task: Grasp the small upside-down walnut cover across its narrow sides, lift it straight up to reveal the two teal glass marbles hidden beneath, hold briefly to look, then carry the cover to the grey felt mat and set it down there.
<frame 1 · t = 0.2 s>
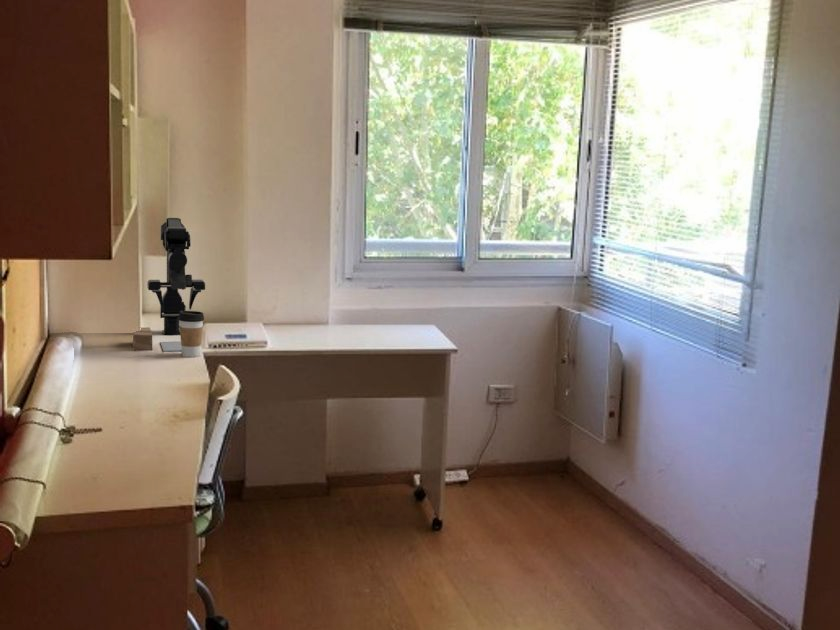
hand: (176, 309, 310), 14 cm above the table, fingers open, 9 cm apart
felt mat: (175, 346, 317), on the table
coffee cup: (191, 355, 307), on the table
walnut cover: (142, 346, 315), on the table
marble a: (141, 345, 317), on the table
marble b: (142, 348, 313), on the table
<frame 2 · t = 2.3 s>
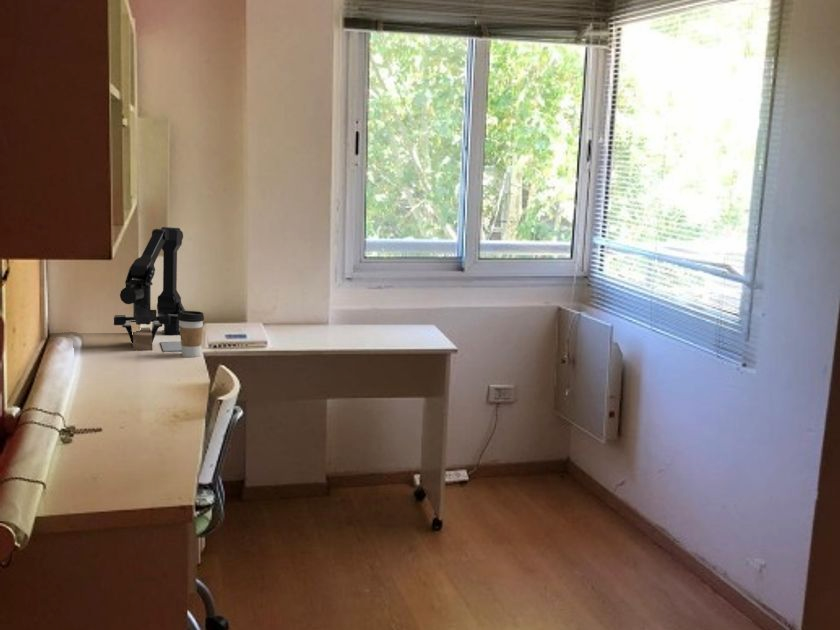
hand: (142, 343, 315), 1 cm above the table, fingers closed on walnut cover, 6 cm apart
walnut cover: (142, 346, 315), on the table, touching gripper
everything else where it was.
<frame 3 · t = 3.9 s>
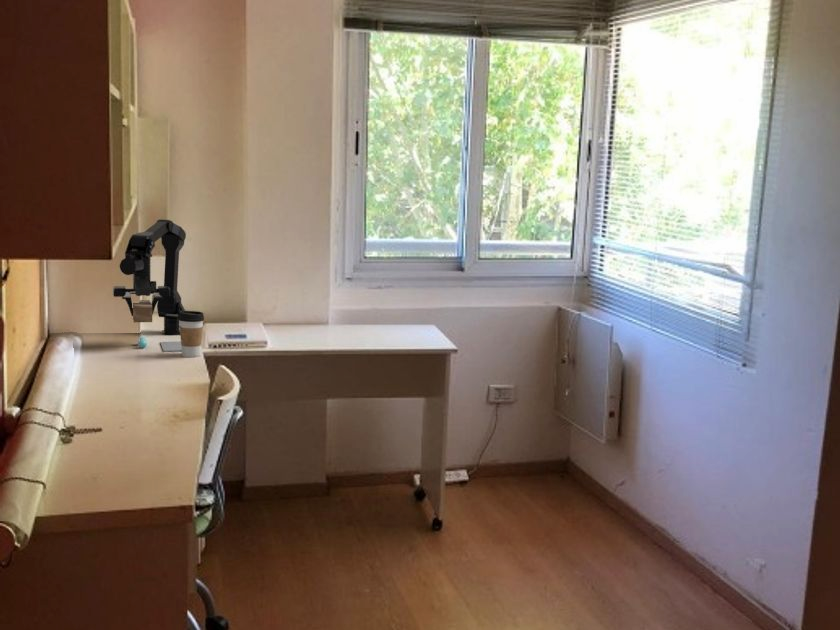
hand: (141, 315, 313), 11 cm above the table, fingers closed on walnut cover, 6 cm apart
walnut cover: (141, 318, 313), point 10 cm above the table, touching gripper
everything else where it was.
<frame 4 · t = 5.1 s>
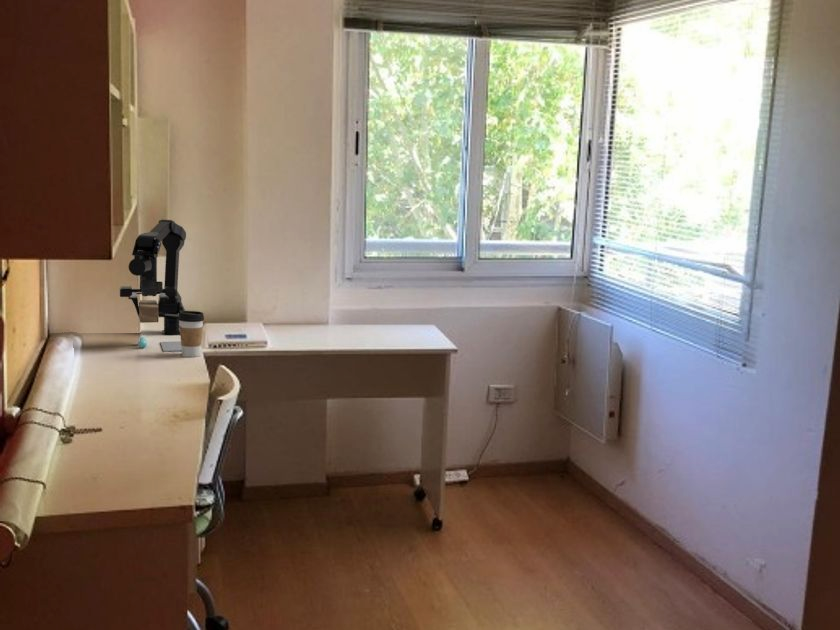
hand: (148, 316, 314), 11 cm above the table, fingers closed on walnut cover, 6 cm apart
walnut cover: (148, 319, 314), point 10 cm above the table, touching gripper
everything else where it was.
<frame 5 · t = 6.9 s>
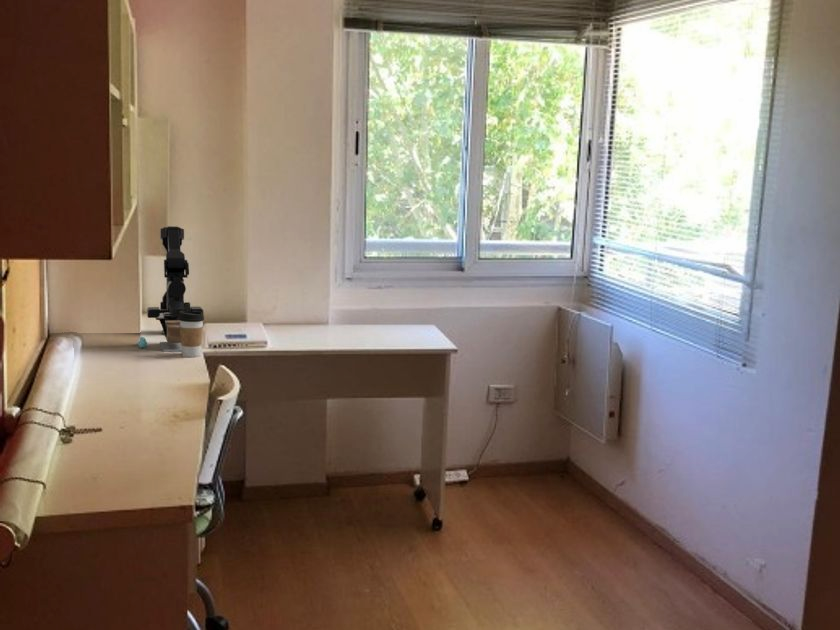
hand: (175, 336, 317), 4 cm above the table, fingers closed on walnut cover, 6 cm apart
walnut cover: (175, 339, 317), point 3 cm above the table, touching gripper
everything else where it was.
when the fingers open (2 cm above the table, at t = 8.1 s): walnut cover stays where it is, resting on felt mat.
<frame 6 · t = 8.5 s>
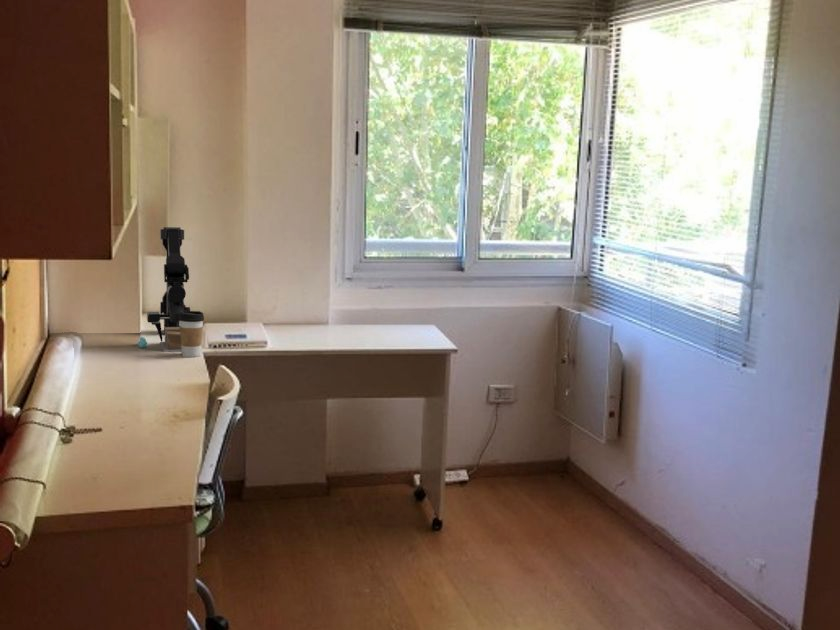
hand: (175, 340, 317), 2 cm above the table, fingers open, 9 cm apart
walnut cover: (175, 345, 317), resting on felt mat
everything else where it was.
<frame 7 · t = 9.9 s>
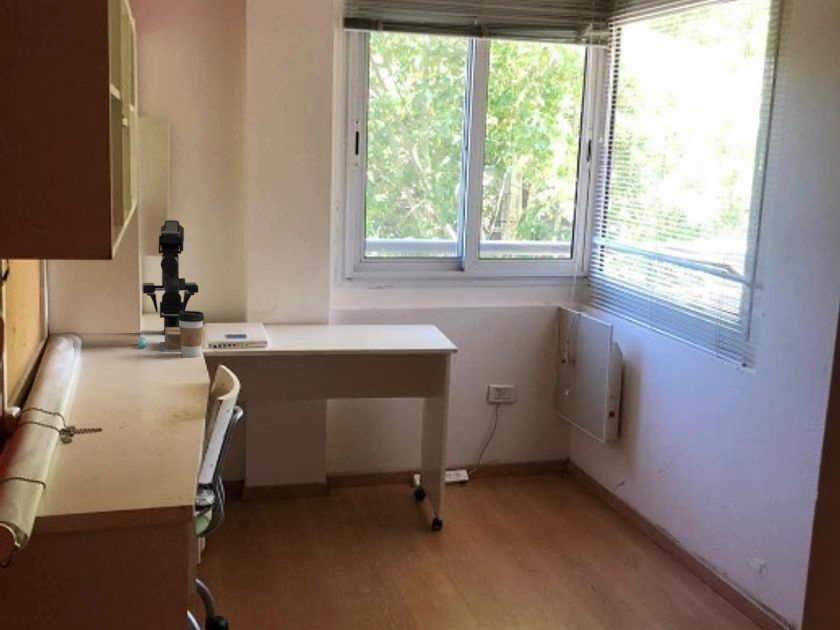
hand: (170, 311, 319), 12 cm above the table, fingers open, 9 cm apart
nothing on the table moved.
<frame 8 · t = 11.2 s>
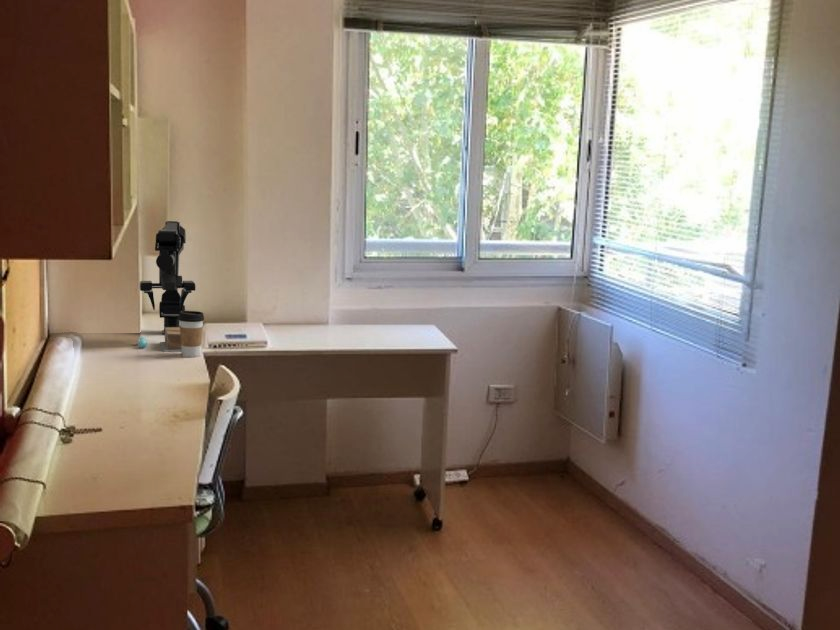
hand: (167, 309, 321), 12 cm above the table, fingers open, 9 cm apart
nothing on the table moved.
at the end: walnut cover inside the target area on the felt mat (0.0 cm from its centre), point 0.4 cm above the felt mat's base; walnut cover tilted 0°; the gripper is holding nothing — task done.
